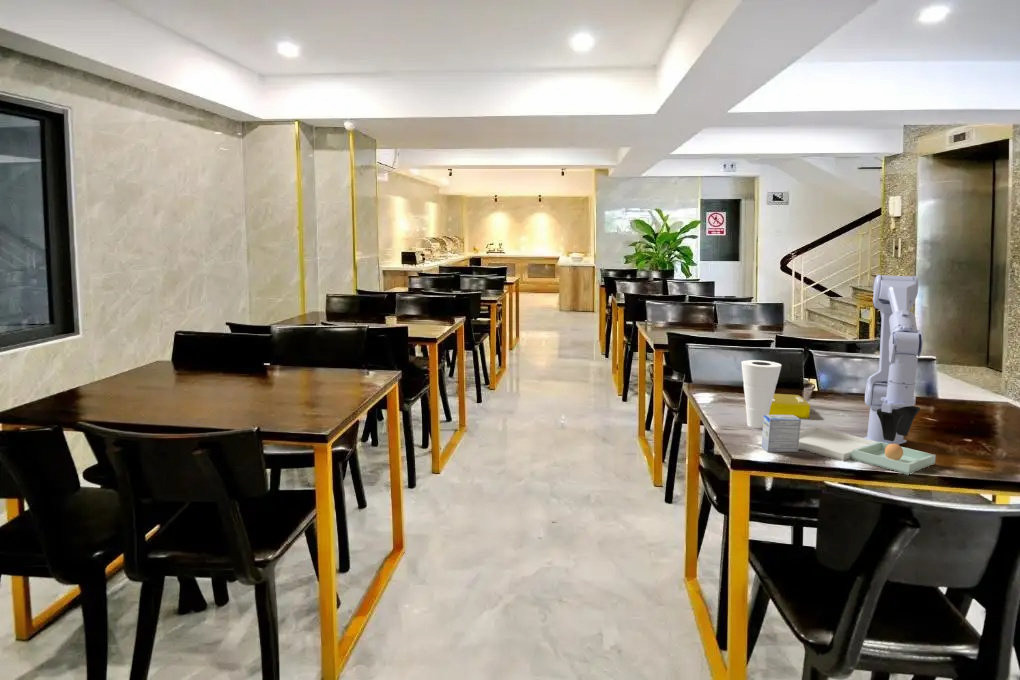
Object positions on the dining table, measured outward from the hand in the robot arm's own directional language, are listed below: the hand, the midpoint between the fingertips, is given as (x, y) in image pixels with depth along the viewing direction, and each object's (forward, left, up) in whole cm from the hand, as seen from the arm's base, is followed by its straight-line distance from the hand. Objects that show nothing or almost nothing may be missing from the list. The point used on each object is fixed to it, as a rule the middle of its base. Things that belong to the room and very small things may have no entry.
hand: (895, 437), depth 177 cm
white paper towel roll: (-1, -38, -6) cm, 39 cm away
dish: (0, 0, -6) cm, 6 cm away
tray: (0, -16, -6) cm, 18 cm away
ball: (0, 0, -4) cm, 4 cm away
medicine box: (+14, -21, -7) cm, 27 cm away
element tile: (-23, -45, -7) cm, 51 cm away
